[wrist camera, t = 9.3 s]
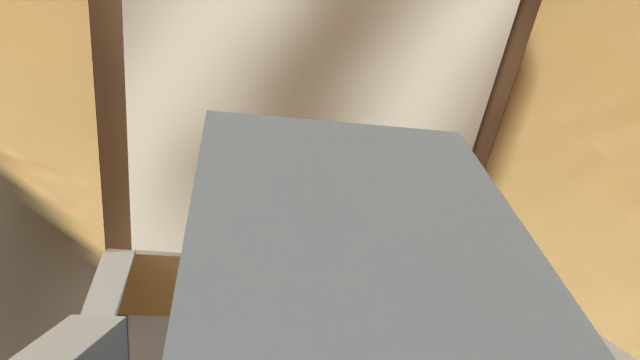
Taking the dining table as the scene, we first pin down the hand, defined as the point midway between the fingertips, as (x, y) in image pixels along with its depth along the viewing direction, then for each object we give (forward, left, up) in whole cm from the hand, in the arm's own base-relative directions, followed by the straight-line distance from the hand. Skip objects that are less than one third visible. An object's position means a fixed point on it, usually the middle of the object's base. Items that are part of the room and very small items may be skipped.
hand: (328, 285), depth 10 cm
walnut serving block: (0, 0, -12) cm, 12 cm away
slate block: (0, 0, -2) cm, 2 cm away
